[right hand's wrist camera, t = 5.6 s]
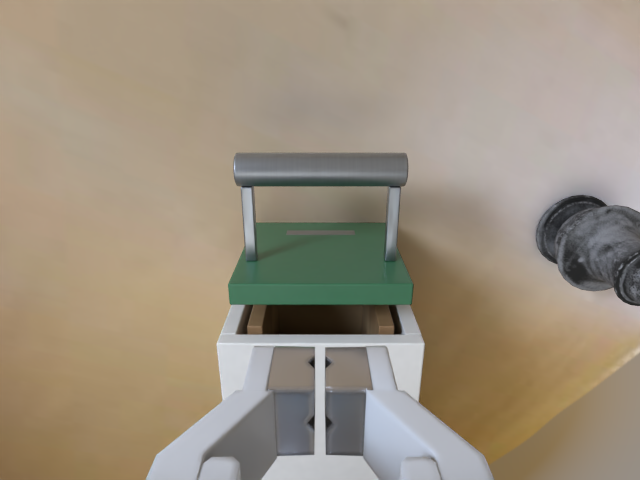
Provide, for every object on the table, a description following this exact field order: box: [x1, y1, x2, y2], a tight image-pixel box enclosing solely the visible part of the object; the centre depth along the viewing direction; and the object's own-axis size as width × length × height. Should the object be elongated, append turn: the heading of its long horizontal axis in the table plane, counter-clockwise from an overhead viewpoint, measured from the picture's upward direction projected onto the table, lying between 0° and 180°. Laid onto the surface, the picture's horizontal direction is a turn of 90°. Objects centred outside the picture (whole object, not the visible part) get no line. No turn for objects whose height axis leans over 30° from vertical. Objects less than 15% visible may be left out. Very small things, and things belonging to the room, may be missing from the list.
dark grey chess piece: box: [536, 195, 640, 306], centre depth 25 cm, size 6×6×12 cm
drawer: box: [228, 153, 413, 335], centre depth 27 cm, size 22×9×9 cm, turn 0°
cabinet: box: [217, 305, 425, 480], centre depth 29 cm, size 17×10×11 cm, turn 0°
